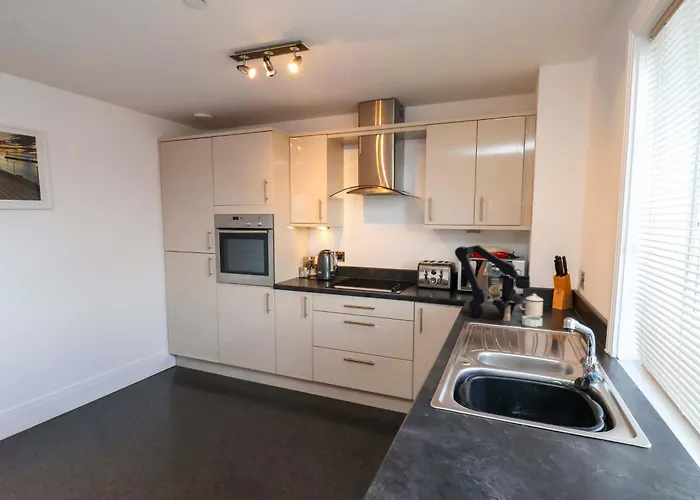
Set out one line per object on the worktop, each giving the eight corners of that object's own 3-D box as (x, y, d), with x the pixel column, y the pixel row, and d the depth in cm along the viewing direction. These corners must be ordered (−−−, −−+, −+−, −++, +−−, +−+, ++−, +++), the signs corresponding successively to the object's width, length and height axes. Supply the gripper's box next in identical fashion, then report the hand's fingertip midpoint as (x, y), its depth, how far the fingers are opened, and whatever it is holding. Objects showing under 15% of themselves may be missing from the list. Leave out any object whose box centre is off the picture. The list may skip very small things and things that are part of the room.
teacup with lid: (541, 313, 209) (542, 292, 207) (544, 317, 200) (545, 296, 199) (517, 311, 212) (518, 291, 211) (519, 315, 204) (520, 294, 203)
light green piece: (518, 323, 189) (519, 317, 189) (527, 320, 195) (527, 314, 194) (536, 327, 182) (537, 321, 182) (545, 324, 188) (545, 318, 187)
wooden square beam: (503, 320, 195) (503, 305, 194) (505, 319, 197) (506, 304, 196) (507, 321, 193) (508, 306, 192) (510, 320, 195) (510, 305, 194)
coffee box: (487, 301, 237) (487, 276, 236) (485, 299, 243) (485, 274, 242) (502, 302, 236) (503, 276, 234) (499, 299, 242) (500, 275, 240)
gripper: (513, 292, 181) (512, 323, 183) (532, 287, 193) (530, 317, 194) (492, 288, 190) (491, 318, 191) (511, 284, 202) (510, 312, 203)
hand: (506, 316), depth 195 cm, fingers open, 7 cm apart
